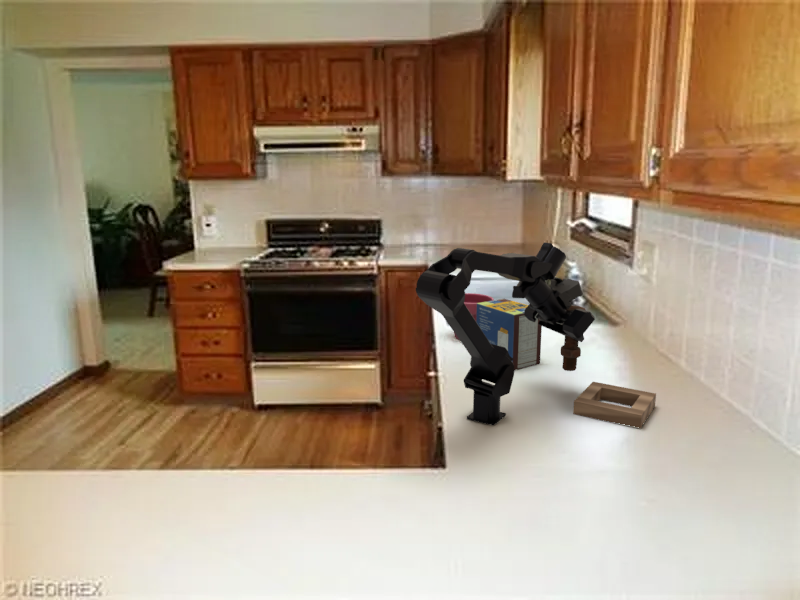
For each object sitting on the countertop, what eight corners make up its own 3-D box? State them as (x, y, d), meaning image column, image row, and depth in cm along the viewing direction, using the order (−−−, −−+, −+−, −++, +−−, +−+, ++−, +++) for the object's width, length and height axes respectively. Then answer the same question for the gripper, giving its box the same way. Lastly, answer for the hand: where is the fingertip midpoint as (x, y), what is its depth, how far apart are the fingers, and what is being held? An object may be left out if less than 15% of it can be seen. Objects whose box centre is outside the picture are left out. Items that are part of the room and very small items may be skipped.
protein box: (502, 349, 176) (503, 297, 173) (540, 364, 164) (543, 308, 160) (474, 356, 171) (475, 302, 167) (512, 371, 158) (514, 314, 155)
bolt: (581, 374, 140) (586, 311, 136) (559, 373, 140) (563, 310, 137) (578, 366, 145) (584, 305, 142) (557, 364, 146) (561, 304, 143)
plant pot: (499, 335, 190) (501, 295, 188) (481, 347, 179) (482, 305, 176) (459, 329, 198) (459, 290, 195) (438, 339, 186) (438, 299, 183)
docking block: (640, 429, 124) (641, 415, 123) (573, 413, 132) (573, 401, 131) (654, 406, 135) (656, 393, 135) (592, 393, 143) (592, 381, 142)
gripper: (591, 275, 128) (626, 321, 134) (537, 262, 144) (571, 304, 151) (558, 315, 126) (596, 359, 133) (507, 297, 143) (543, 337, 150)
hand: (576, 338), depth 142 cm, fingers closed on bolt, 4 cm apart
